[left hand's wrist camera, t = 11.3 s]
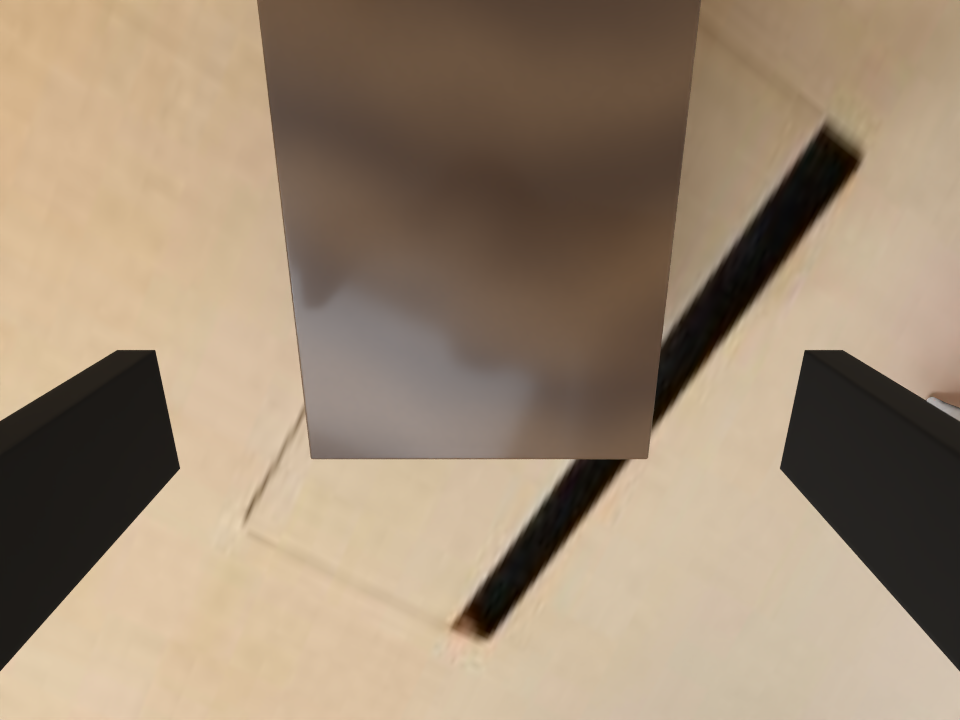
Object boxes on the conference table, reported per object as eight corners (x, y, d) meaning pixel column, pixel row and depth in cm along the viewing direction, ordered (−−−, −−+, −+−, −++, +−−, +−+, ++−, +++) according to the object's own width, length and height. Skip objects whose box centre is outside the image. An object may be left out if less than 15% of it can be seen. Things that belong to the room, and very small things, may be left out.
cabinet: (327, -135, 22) (217, -325, 13) (631, -135, 22) (739, -326, 13) (364, 355, 29) (310, 460, 20) (594, 355, 29) (648, 460, 20)
